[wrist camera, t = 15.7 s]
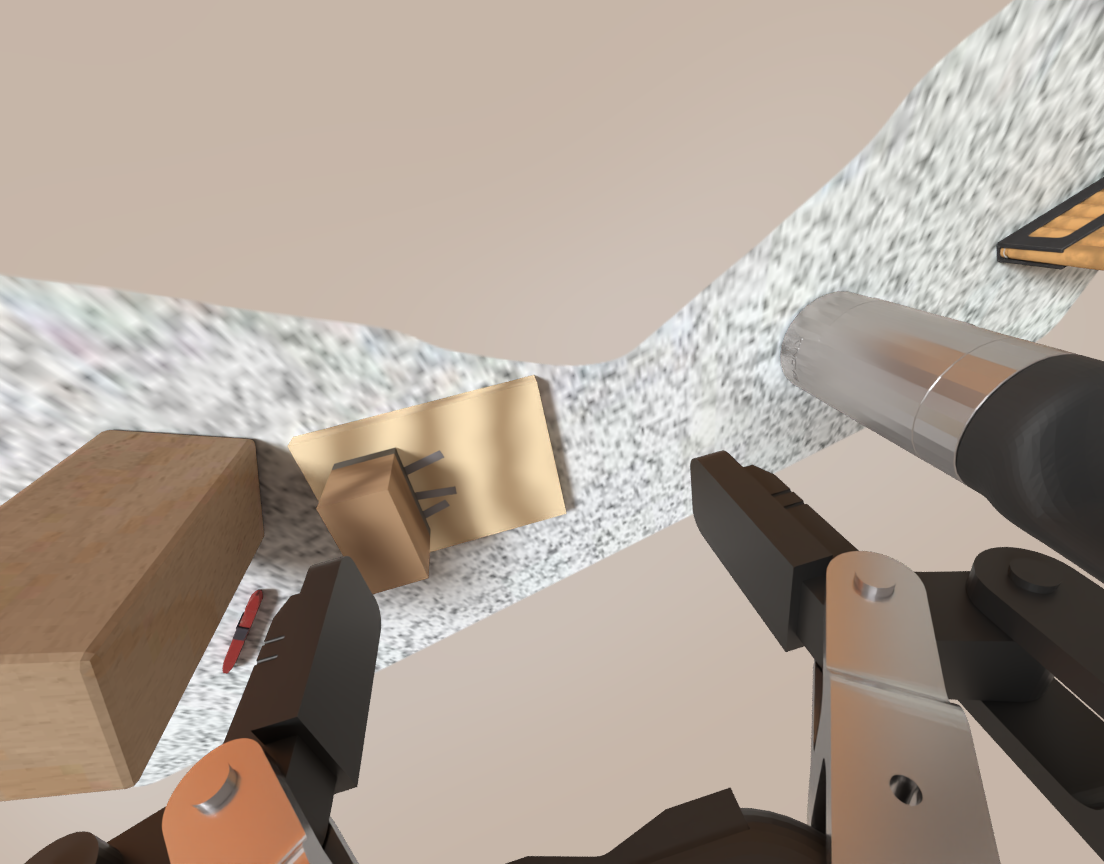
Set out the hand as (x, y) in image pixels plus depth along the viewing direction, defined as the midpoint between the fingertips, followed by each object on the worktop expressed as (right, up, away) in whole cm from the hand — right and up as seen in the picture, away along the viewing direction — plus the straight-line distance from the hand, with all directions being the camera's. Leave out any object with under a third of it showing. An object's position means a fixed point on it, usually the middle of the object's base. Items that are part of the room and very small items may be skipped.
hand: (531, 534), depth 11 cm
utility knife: (-30, -16, +35) cm, 49 cm away
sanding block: (-14, -3, +29) cm, 33 cm away
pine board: (-9, -1, +31) cm, 32 cm away
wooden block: (-29, -2, +27) cm, 39 cm away
